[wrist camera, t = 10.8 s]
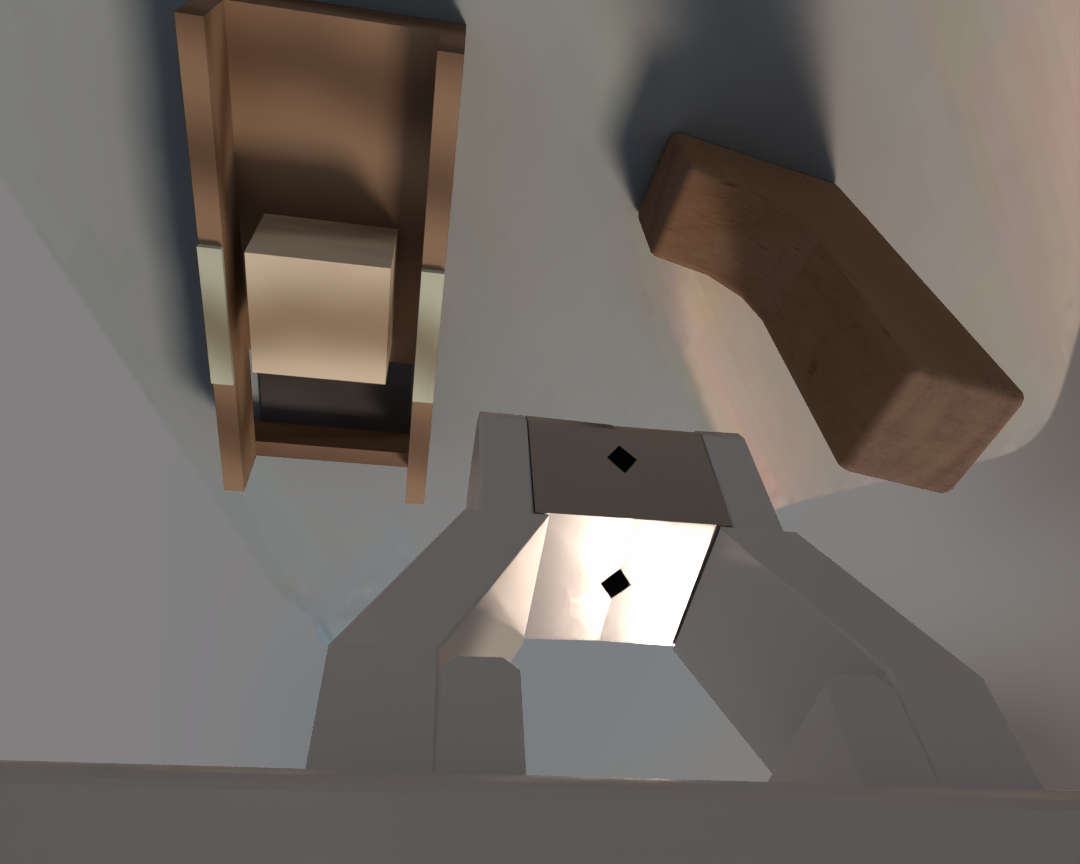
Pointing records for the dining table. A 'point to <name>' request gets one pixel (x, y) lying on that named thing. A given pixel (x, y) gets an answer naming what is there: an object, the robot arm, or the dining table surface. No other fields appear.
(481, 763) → the robot arm
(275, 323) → the birch block
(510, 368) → the dining table surface
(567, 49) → the dining table surface
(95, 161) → the dining table surface
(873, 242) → the wooden block
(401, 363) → the walled channel
